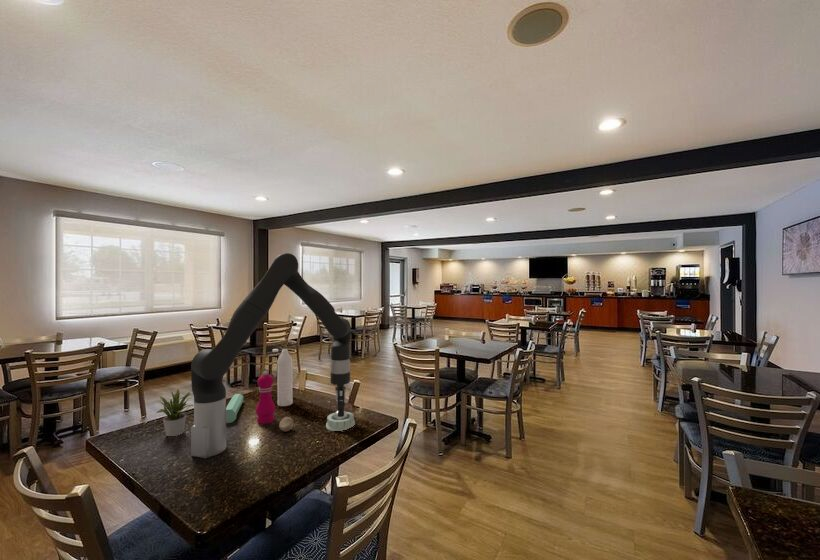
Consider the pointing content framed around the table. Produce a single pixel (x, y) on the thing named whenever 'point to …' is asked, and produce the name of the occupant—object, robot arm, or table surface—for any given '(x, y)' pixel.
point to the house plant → (174, 414)
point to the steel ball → (340, 417)
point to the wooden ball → (286, 424)
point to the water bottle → (284, 378)
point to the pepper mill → (265, 399)
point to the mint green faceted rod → (233, 407)
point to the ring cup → (340, 422)
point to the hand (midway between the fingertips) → (340, 412)
